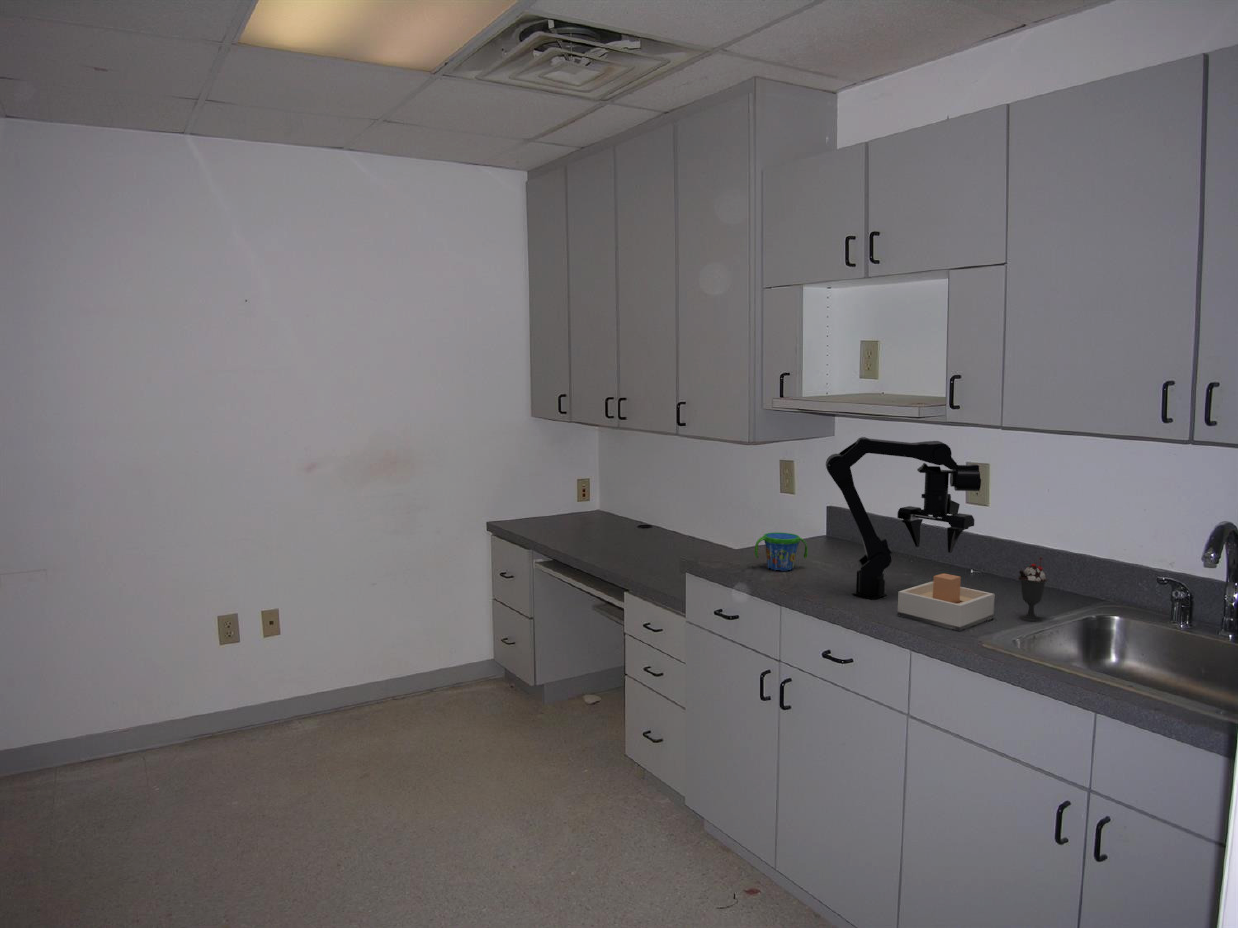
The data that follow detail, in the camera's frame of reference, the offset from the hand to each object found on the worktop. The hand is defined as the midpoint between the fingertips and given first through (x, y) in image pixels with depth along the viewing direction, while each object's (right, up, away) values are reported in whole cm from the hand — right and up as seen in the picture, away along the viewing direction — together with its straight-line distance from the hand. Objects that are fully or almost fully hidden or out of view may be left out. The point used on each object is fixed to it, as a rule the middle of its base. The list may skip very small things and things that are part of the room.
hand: (933, 549), depth 225 cm
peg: (-2, -14, -15) cm, 20 cm away
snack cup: (-33, -9, +33) cm, 48 cm away
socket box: (-3, -15, -15) cm, 21 cm away
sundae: (+18, -15, -16) cm, 28 cm away
